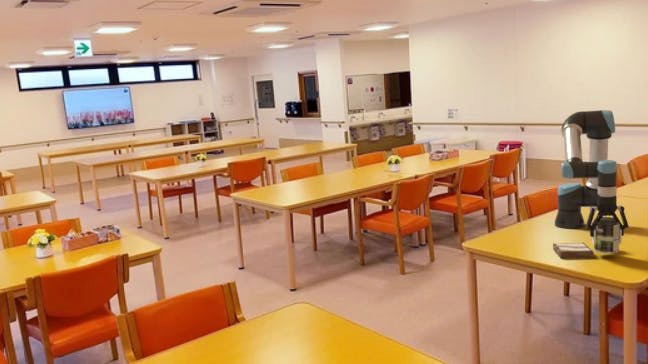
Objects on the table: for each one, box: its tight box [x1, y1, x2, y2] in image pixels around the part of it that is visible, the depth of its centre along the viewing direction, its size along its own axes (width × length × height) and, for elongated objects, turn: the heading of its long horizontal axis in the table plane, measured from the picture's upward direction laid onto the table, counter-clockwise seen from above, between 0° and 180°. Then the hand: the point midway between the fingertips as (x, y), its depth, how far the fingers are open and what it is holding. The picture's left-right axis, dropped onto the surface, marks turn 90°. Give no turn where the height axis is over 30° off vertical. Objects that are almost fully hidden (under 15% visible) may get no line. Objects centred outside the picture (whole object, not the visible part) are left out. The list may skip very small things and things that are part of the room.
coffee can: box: [593, 216, 621, 254], centre depth 247 cm, size 10×10×14 cm
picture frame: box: [552, 242, 594, 260], centre depth 256 cm, size 14×14×3 cm
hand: (606, 243), depth 248 cm, fingers closed on coffee can, 10 cm apart
